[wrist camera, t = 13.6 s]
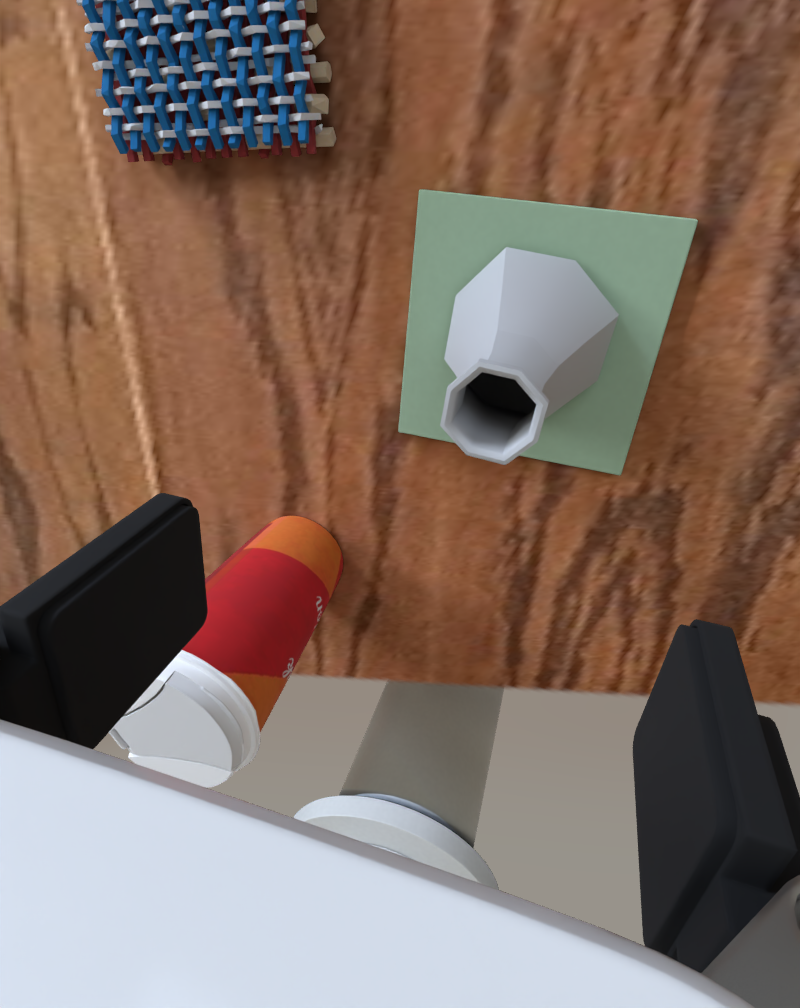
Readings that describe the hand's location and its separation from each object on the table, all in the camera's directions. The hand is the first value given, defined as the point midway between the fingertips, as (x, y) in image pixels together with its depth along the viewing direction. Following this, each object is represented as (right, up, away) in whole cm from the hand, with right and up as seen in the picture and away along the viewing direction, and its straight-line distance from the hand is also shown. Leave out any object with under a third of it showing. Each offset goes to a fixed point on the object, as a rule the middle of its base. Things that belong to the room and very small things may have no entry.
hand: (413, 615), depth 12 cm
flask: (+5, +10, +15) cm, 19 cm away
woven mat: (-8, +22, +13) cm, 27 cm away
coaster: (+6, +10, +16) cm, 19 cm away
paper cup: (-6, -1, +26) cm, 26 cm away
